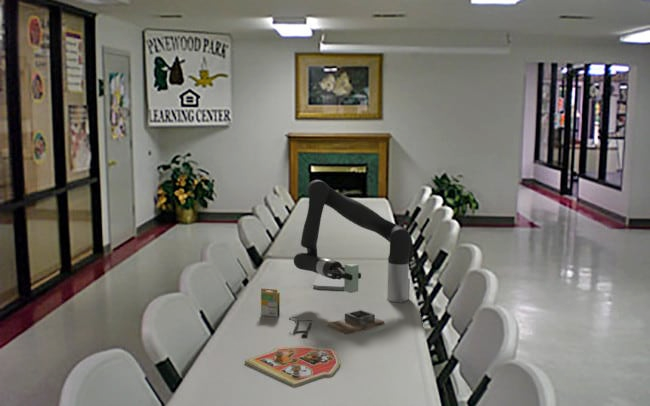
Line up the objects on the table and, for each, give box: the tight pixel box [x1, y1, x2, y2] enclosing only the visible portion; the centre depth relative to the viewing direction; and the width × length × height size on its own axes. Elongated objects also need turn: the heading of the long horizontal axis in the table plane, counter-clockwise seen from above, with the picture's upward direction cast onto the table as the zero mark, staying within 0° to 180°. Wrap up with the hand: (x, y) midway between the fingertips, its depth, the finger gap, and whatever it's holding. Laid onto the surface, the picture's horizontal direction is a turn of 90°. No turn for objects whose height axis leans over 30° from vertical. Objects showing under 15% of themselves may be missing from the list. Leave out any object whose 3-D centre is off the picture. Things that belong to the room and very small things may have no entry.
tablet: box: [312, 273, 344, 291], centre depth 327 cm, size 16×26×2 cm, turn 172°
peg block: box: [343, 262, 360, 294], centre depth 268 cm, size 4×4×11 cm
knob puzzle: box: [244, 345, 341, 388], centre depth 226 cm, size 29×30×4 cm
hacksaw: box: [288, 316, 313, 339], centre depth 262 cm, size 24×10×2 cm, turn 174°
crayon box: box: [260, 287, 281, 318], centre depth 276 cm, size 7×3×12 cm, turn 74°
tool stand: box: [326, 309, 385, 335], centre depth 265 cm, size 20×12×4 cm, turn 129°
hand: (356, 276), depth 266 cm, fingers closed on peg block, 4 cm apart
